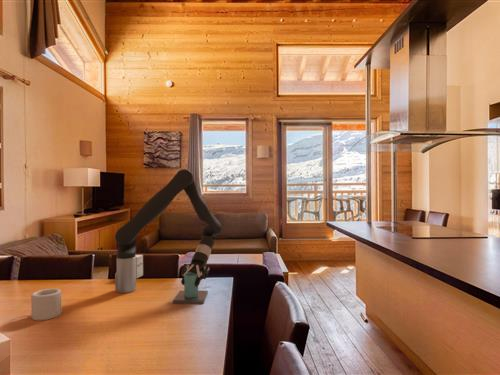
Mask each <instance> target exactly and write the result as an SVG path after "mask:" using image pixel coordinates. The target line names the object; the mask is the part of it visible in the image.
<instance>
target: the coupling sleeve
mask: <svg viewBox="0 0 500 375" xmlns="http://www.w3.org/2000/svg"><path fill="white" fill-rule="evenodd" d="M197 278H198V274H197V273H186V274H184V285H183V289H184V290H183V291H184V295H185V297H196V296H197V295H198V291H199V286H198V287H196V286H195V282H196V279H197Z"/></svg>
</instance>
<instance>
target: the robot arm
mask: <svg viewBox="0 0 500 375" xmlns="http://www.w3.org/2000/svg"><path fill="white" fill-rule="evenodd" d="M182 191H184V192H185V194H186V195H187V197H188V199H189V202H190V204H191V205H192V207H193V210H194V212H195V213H196V215H197V217H198V219H199V220H200V222H203V223H206V224H207V225H205V226H204V227H203V229H202V232H201V233H202V234H201V240H200V241H199V244H198V245H197V247H196V249H195V252H194V254H193V256H192V258H191V262H190V263H189V264H187V263H184V264H183V267H182V269H181V270H180V271H181V272H180V275H181V276H182V279H181V281H180V283H181V285H182V286H184V274H186V273H197V274H198V278H197V279H196V282H195V286H196V287H198V288H199V285H200V284H201V281H202V280H206V279H207V277H208V274H209V273H210V270H211V269H210V267H209V266H208V265H207V263H208V261H209V259H210V257H211V254H212V253H211V252H212V249H213V248H214V244H215V240H214V238H213V237H215V236H218V235H221V233H222V231H223V226H222V224H221V223H220V221H219V220H218V219H217V218H216V217H215V215H213V214H212V211H211V210H210V208H209V206H208V204H207V203H206V202H205V200H204V197H202V195H201V193H200V191H199V189H198V187H197V185H196V182H195V180H194V175H193V172H192V171H190V170H189V169H187V168H183V169H179V170H178V171H177V172H176V174H175V175H174V176H173V177H172V178H171V179H170V181H169V182H168V183H167V184H166V185H165V186H164V187H163V188H160V189H159V191H158V192H156V193H155V194H154V195H152V197H151V198H149V199H148V200H147V201H146V203H145V204H144V205H142V207H141V208H140V209H138V211H137V213H136V214H135V215H134V216H133V217H132V218H131V219H130V220H129V221H127V223H125V224H124V225H122V226H121V227H119V228H118V229H117V230H116V231H115V235H114V239H115V242H116V243H117V250H116V272H115V273H114V274H115V275H114V276H115V277H114V278H115V279H114V282H115V283H114V285H115V286H114V290H115V291H114V292H115V293H120V294H125V293H132V292H134V291H136V288H137V283H136V282H137V281H136V280H137V279H136V255H137V254H136V253H137V235H138V234H139V233H140V232H141V231H142V230H143V229H144V228H145V227H146V226H147V225H149V224H150V223H151V222H153V221H154V220H155V219H157V218H158V217H159V216H160V215H161V214H162V213H163V212H164V211H165V210H166V209H167V208H168V206H169V205H170V204H171V203H172V202H173V200H174V199H175V198H176V197H177V195H179V193H181V192H182Z"/></svg>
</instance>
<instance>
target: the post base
mask: <svg viewBox="0 0 500 375" xmlns="http://www.w3.org/2000/svg"><path fill="white" fill-rule="evenodd" d="M208 294H209V291H208V290H198V295H197V296H196V297H185V295H184V290H179V291H178V293H177V294H176V296H175V297H174V299H173V300H172V302H173V304H175V305H177V304H182V305H184V304H185V305H186V304H189V305H190V304H205V302H206V299H207V297H208ZM173 304H172V305H173Z"/></svg>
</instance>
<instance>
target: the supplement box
mask: <svg viewBox="0 0 500 375" xmlns="http://www.w3.org/2000/svg"><path fill="white" fill-rule="evenodd" d="M143 276H144V254H136V280H137V279H138V278H141V277H143Z"/></svg>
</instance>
